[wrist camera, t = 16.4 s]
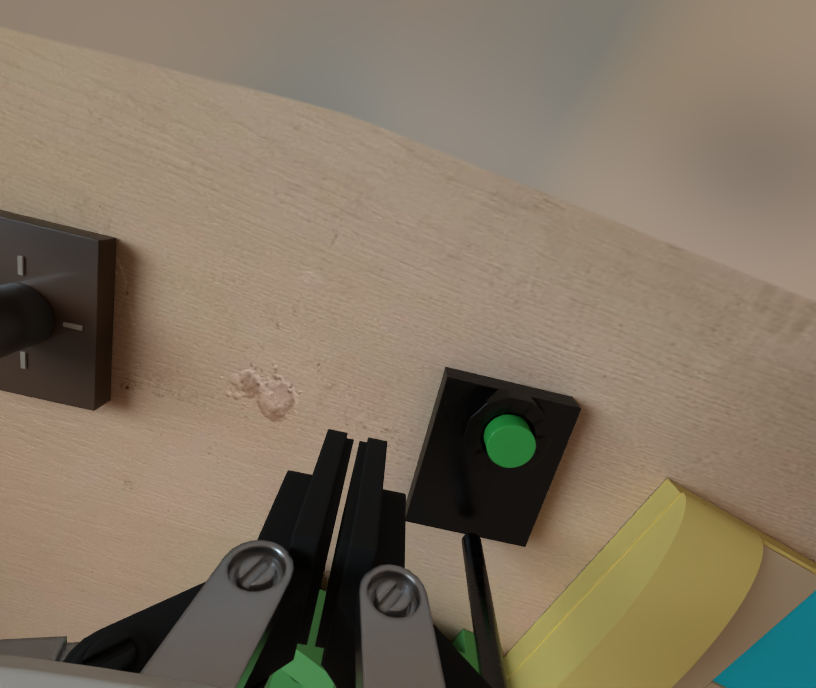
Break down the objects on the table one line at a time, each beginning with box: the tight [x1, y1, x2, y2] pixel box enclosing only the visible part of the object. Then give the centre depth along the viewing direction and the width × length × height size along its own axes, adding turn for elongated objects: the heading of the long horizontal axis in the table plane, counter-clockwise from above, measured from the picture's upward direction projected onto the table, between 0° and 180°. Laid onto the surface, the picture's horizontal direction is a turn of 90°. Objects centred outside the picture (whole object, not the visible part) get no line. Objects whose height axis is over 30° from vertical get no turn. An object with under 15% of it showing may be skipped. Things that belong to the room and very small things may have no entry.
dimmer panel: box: [0, 210, 116, 411], centre depth 35 cm, size 14×11×2 cm
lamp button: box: [484, 415, 536, 468], centre depth 34 cm, size 4×4×2 cm
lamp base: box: [405, 367, 581, 547], centre depth 37 cm, size 14×11×4 cm
